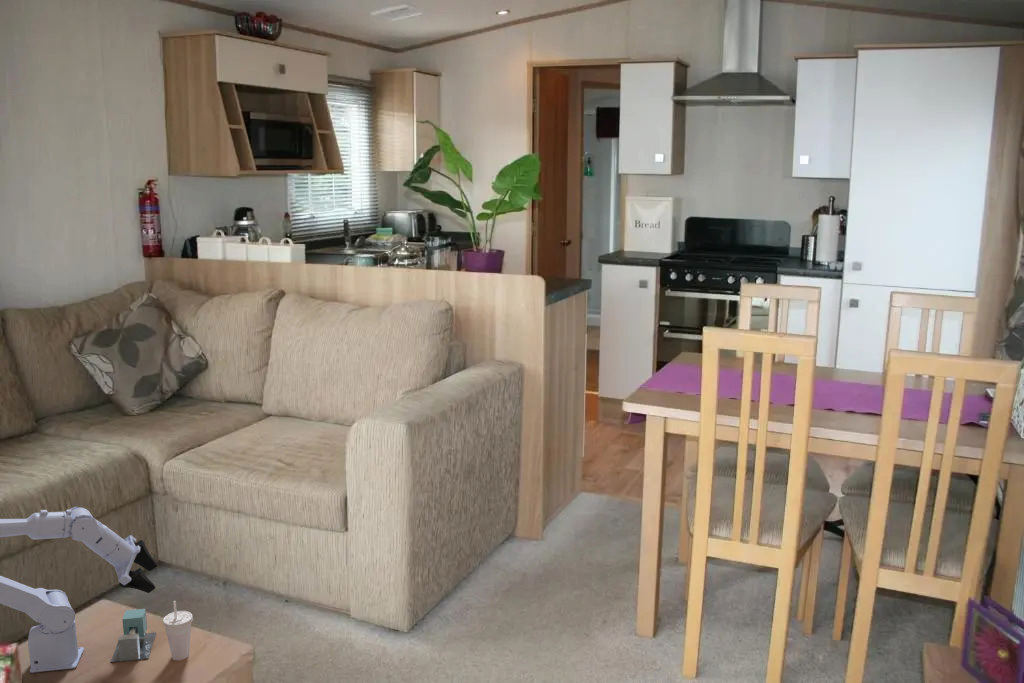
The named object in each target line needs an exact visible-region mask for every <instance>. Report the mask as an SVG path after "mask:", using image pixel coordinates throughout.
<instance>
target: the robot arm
mask: <svg viewBox="0 0 1024 683" xmlns="http://www.w3.org/2000/svg"><path fill="white" fill-rule="evenodd" d="M24 535H25V536H27V537H29V538H30V539H31V540H36V541H37V540H47V539H48V540H50V539H65V538H68V537H69V538H70V537H71V540H73V541H76V542H82V543H83V544H84V545H85V546H86V547H87V548H88V549H90V550H91V551H93V553H95V554H97V555H98V556H99V557H100V558H102V559H103V560H105V561H106V562H107V563H108V564H110V565H112V566H113V568H114V571H115V573H116V575H117V578H118V579H117V582H118V583H119V587H121V588H123V589H124V588H125V589H135V590H138V591H141V592H144V593H147V594H150V593H151V592H153V591H154V590H155V589H156V585H155V584H154V582H152V580H150V579H149V578H148V577H147V576H146V575H145V573H144V571H143V569H145V570H147V571H149V572H151V571H154V569H156V568H157V567H158V563H157V562H156V561H155V559H154V558H153V557H152V555H151V554H150V552H149V551H148V548H147V545H146V542H145V541H144V540H142V539H140V540H138V541H137V539H136V538H135V537H134V536H133V535H132V534H130V535H128V536H127V537H125V538H122V537H121V536H120V535H119V534H117V533H116V532H115V531H113V530H112V529H110V528H109V527H108V526H107V525H105V524H103V523H102V522H101V521H99V520H97V519H96V518H95V517H93V515H92V514H91V512H90V511H89V510H88V509H86V508H85V507H82V506H80V507H79V506H73V507H71V508H69V509H66V510H65V511H51V512H50V511H49V512H48V510H47V509H40V510H39V512H34V513H32V514H30V515H29V516H28V517H27V518H0V538H7V537H16V536H24ZM134 563H135V564H136V565H139V566H140V567H139V568H138V569H136V570H131V568H132V566H133V564H134ZM142 568H143V569H142ZM0 604H1V605H3V606H6V607H8V608H11V609H14V610H17V611H19V612H23V613H25V614H26V615H27V616H28V617H30V618H31V619H32V620H33V621H34V622H36V623H38V625H35V626H32V627H31V628H30V630H29V632H28V633H29V634H28V636H27V637H28V639H27V648H28V656H29V665H30V669H29V673H31V674H32V673H41V672H42V673H43V672H51V671H60V670H62V671H63V670H70V669H76V668H77V666H78V664H79V662H80V660H81V658H82V655H83V653H84V651H85V647H83V646H80V647H79V646H78V644H79V642H78V635H77V626H76V613H75V611H74V609H73V608H72V606H71V604H70V601H69V598H68V595H67V594H66V592H65V591H63V590H61V589H46V588H43V587H37V588H33V587H31V586H28V585H27V584H23V583H20V582H18V581H15V580H12V579H11V578H7V577H6V576H5V577H4V576H3V575H0Z"/></svg>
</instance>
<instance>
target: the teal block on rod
mask: <svg viewBox="0 0 1024 683" xmlns="http://www.w3.org/2000/svg"><path fill="white" fill-rule="evenodd" d="M121 620H122V629H123V630H122V631H123V635H128V634H129V633H130V630H131V628H132V627H133V626H137V630H136V632H135V634H139V637H144V636H145V633H146V632H147V630H148V621H147V610H146V608H139V609H127V610H125V612H124V614H123V616H122V619H121Z"/></svg>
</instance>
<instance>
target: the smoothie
mask: <svg viewBox="0 0 1024 683" xmlns="http://www.w3.org/2000/svg"><path fill="white" fill-rule="evenodd" d="M172 603H173V604H172V605H173V611H172V612H170V613H167V615H165V616H164V617H163V620H162V626H163V627H164V628H165V633H166V637H167V642H168V645H169V646H168V647H169V650H170V654H171V659H172V660H174V661H182V660H185V659H188V657H190V650H191V649H190V646H191V634H192V622H193V620H194V618H193V614H192V613H191V612H190V611H187V610H177V601H176V600H173V601H172Z"/></svg>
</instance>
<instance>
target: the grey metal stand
mask: <svg viewBox="0 0 1024 683" xmlns="http://www.w3.org/2000/svg"><path fill="white" fill-rule="evenodd" d="M136 630H137V626H133V627H132V628H131V630H130V633H129V634H128V635H124V634H121V635H119V637H118V640H117V643H116V646H115V649H114V651H113V655H112V657H111V659H110V663H111V662H115V663H125V662H133V660H135V661H142V660H141V659H144V660H149V658H150V655H151V651H152V649H151V648H153V644H154V641H155V638H156V636H157V632H156V631H155V632H147V633H145V636H144V637H139V634H135V632H136ZM155 635H156V636H155ZM124 661H125V662H124Z"/></svg>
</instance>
